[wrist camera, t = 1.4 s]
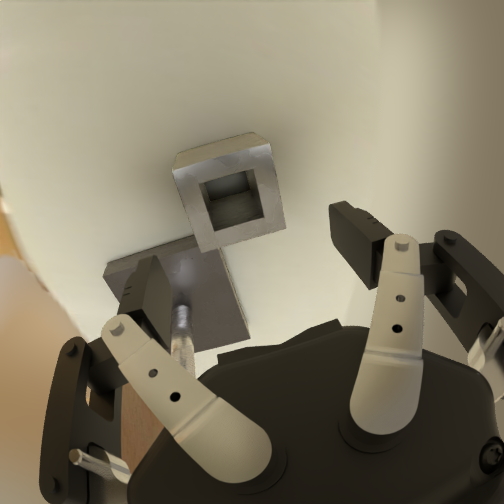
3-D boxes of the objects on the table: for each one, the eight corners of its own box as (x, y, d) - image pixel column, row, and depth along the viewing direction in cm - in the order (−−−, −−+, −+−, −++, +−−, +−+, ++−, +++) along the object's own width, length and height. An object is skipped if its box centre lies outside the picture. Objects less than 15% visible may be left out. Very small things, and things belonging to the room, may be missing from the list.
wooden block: (97, 376, 30) (87, 510, 14) (165, 377, 32) (174, 522, 16) (119, 407, 36) (118, 516, 19) (177, 408, 37) (188, 522, 21)
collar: (177, 153, 18) (171, 171, 14) (252, 132, 18) (269, 143, 14) (199, 219, 21) (201, 253, 17) (268, 199, 22) (286, 228, 17)
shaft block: (108, 262, 22) (80, 341, 14) (213, 229, 22) (225, 306, 15) (162, 345, 28) (161, 416, 21) (247, 324, 29) (265, 396, 21)
